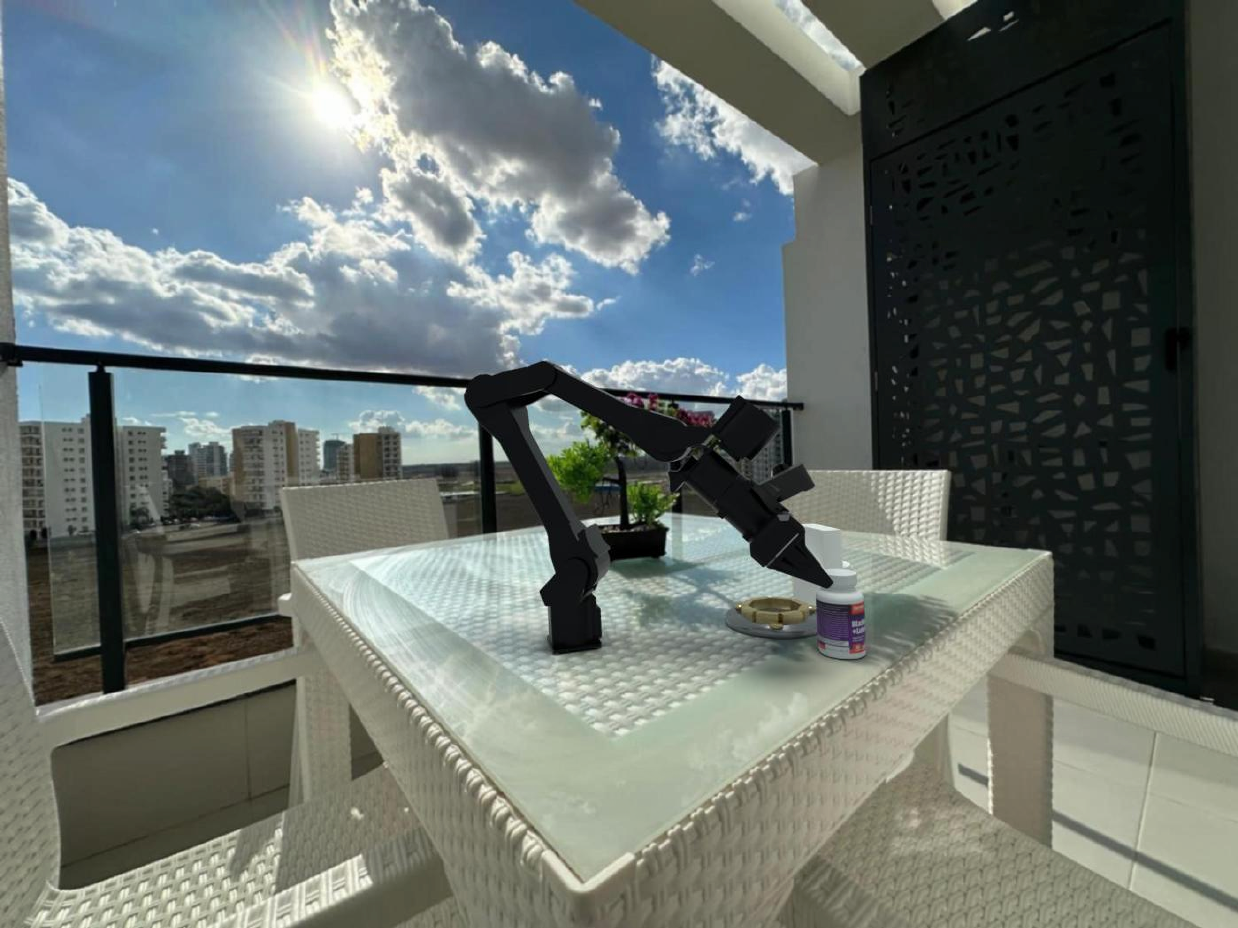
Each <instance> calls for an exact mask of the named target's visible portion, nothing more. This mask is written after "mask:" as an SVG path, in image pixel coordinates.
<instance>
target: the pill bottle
mask: <svg viewBox="0 0 1238 928" xmlns="http://www.w3.org/2000/svg"><path fill="white" fill-rule="evenodd" d="M825 571H826V573H827V574H828V575H829V576H830V578H831V579H832V580H833V582H834V583H833V585H832V586H831V587H830V588H828V589H826V588H823V587H821V588H819V589H818V590H817V592H816V613H817V635H816V636H817V646H818V650H819V652H820V653H821V654H822V655H825V656H826V657H830V658H833V659H834V658H835V659H838V660H839V659H841V660H856V659H860V658H863V657H865V656H866V654H867V638H866V637H867V635H866V616H865V615H866V614H865V597H864V594H863V592H862V591H861V590H859V589H858V588H856V586H857V585H858V579H857V578H858V576H857V572H856V571H854V570H846V569H826V570H825Z"/></svg>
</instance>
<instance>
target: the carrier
mask: <svg viewBox="0 0 1238 928" xmlns="http://www.w3.org/2000/svg"><path fill="white" fill-rule="evenodd" d="M725 622H726V625H727V626H728V628H730V629H731V630H733V631H734V632H738V633H739V634H743V635H747V636H751V637H755V638H756V637H758V638H763V639H764V638H765V639H774V640H775V639H777V640H780V639H781V640H789V639H794V640H795V639H801V638H802V639H803V638H808V637H812V636H818V635H817V613H816V606H814V605H808V604H807V603H805V602H803V601H800V600H798V599H793V597H785V596H775V595H774V596H773V595H771V596H770V597H769V596H768V595H766V596H759V597H751V598H749V599H746V600H744V601H743V603H741V602H740V603H739V602H737V603H734V607H731V608H729V609H728V610H727V611H726V612H725Z"/></svg>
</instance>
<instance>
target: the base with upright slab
mask: <svg viewBox="0 0 1238 928" xmlns="http://www.w3.org/2000/svg"><path fill="white" fill-rule="evenodd" d="M801 524H802V525H803V527H804V528H805V545H806V547H807V548H808V549H809V550H810V552H811V553H812V554H813V555H814V557H815V558H816V559H817V560H818V562H819V563H820V564H821V566H822V568H823V569H824V570H826V569H846V570H851V563H850V562H848V561H845V560H843V545H842V529H839V528H835V527H831V526H827V525H822V524H819V523H801ZM791 578H792V594H793V595H792V596H793V597H792V599H798V600H800V601H803V602H805V603H807V604H808V605H814V606H816V592H817V590H818V589H819V588H821V587H820V586H818V585H815V584H812V583H810V582H807V581H804V580H802V579H799V578H796V577H793V576H791Z"/></svg>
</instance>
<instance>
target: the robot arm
mask: <svg viewBox="0 0 1238 928" xmlns="http://www.w3.org/2000/svg"><path fill="white" fill-rule="evenodd" d="M465 387H466V388H465V392H464V393H463V400H464V403H465V406H466V408H467V410H469V412H470V413H471V415H473V417H474V418H475V419H476V421H477V422H478V423H479V424H480V426H481V427H482V428H484V430H485V431H486V432H487V433H489V434H490V435H491V436H492V437H493V438H494V439H495V440H496V441H497V442H498V443H499V445H500V447H501V449H502V451H503V452H504V454H505V456H506V458H507V460H508V462H509V463H510V465H511V467H512V470H513V472H514V473H515V475H516V477H517V478H518V481H519V483H520V484H521V486H522V488H523V490H524V492H525V495H526V496H527V498H528V499H529V501H530V504H531V505H532V507H533V509H534V511H535V513H536V515H537V517H538V519H539V521H540V523H541V524H542V526H543V528H544V530H545V532H546V535H547V542H548V551H549V558H550V561H551V563H552V567H553V570H554V574H553V575H552V576H551V578H550V579H549V580H548V581H547V582H546V583H544V585H543V586H542V587H541V588H540V590H539V595H540V598H541V601H542V603H543V605H544V606H545V607H547V620H548V623H547V624H548V634H547V635H546V638H547V639H546V640H547V642H548V644H549V647H550V650H551V652H552V653H553V654H554V655H555V654H563V653H569V652H576V651H582V650H589V649H595V648H596V649H597V648H601V647H602V646H603V645H602V641H601V639H602V638H603V625H602V608H601V607H600V606H599V605H598V603H597V597H596V595H594V594H593V592H595V591H596V590H597V588H598V584H599V582H600V581H601V580H602V579H603V578H604V577H606V575H607V573H608V571H609V569H610V565H611V556H610V554H609V552H608V551H609V550H611V546H610V545H609V544H608V543H607V542H606V541H605V540H604V538H603V535H602V534H601V530H600V528H599V526H598V524H597V523H593V524H591V525H589V526H587V525H585V524H584V522H582V521H581V520H580V519H579V518H578V517H577V515H576V513H575V512H574V510H573V508H572V506H571V504H570V502H569V500H568V499H567V497H566V495H565V493H564V491H563V488H562V487H561V486H560V483H559V482H558V480H557V478H556V477H555V474H554V472H553V470H552V469H551V467H550V465H549V463H548V461H547V459H546V457H545V456H544V454H543V452H542V450H541V448H540V446H539V445H538V443H537V441H536V438H535V436H534V435H533V433H532V432H531V428H530V420H529V410H528V408H527V407H528V406H530V405H532V404H535V403H537V402H539V401H540V400H543V399H544V398H546V397H548V396H551V395H553V396H555V397H556V398H558V399H561V401H563V402H565V403H567V404H570V405H572V406H573V407H575V408H577V409H579V410H581V411H582V412H585V413H586V414H589V415H590V416H592V417H594V418H596V419H598V420H600V421H602V422H604V423H605V424H607V425H609V426H612V427H614V428H615V429H617V430H618V431H619V432H621V433H622V434H623V435H624V436H625V437H627V438H628V439H629V440H630V441H631V442H632V443H633V444H634V445H636V446H637V447H638V448H639V449H641V450H642V451H643V452H644V453H646V454H647V455H649V456H650V457H651V458H653V459H654V460H655V461H658V462H661V463H672V462H676V461H680V460H682V459H684V458H685V457H686V456H687V455H688V454H689V453H690V451H691V450H692V449H696V448H700V447H704V446H706V445H708V444H709V443H710V441H711V440H712V439H713V438H716V439H715V440H714V441H713V442H712V444H711V445H710V446H709V447H708V448H707V449H706V450H705V451H704V452H703V453H702V455H700V456H699V457H697V456H695V455H694V454H691V455H690V456H689V457H688V458H687V460H686V461H685V462H684V463H683V464H682V465H681V466H680V467H679V469H677V470H669V471H668V472H667V475H668V478H669V491H670V492H671V493H675V492H677V491H678V490H680V488H681V487H682V486H684V484H685V485H686V486H687V487H688V488H689V489H690V490H692V491H693V492H694V494H696V495H697V496H698V497H699V498H701V500H703V501H704V502H705V503H706V504H708V506H710V507H711V508H712V509H713V510H714V511H715V512H716V513H715V515H717V516H718V518H720V519H721V520H725V521H726V522H727V523H728V524H729V525H731V526H732V527H733V528H734V529H735V530H737V532H739V534H741V537H742V538H743V540H744V541H746V542H747V543H749V544H748V546H749V556H750V557H751V558H752V559H753V560H754V561H755V562H756V564H757V563H758V564H759V566H761V567H762V568H765V567H766V568H767V569H768V570H773V571H776V572H778V573H782V574H785V575H787V576H791V577H792V576H793V577H796V578H799V579H802V580H804V581H807V582H810V583H812V584H815V585H818V586H820V587H823V588H826V589H828V588H830V587H831V586H832V585H833V583H834V582H833V580H832V579H831V578H830V576H829V575H828V574H827V573H826V571H825V570H824V569H823V568H822V566H821V564H820V563H819V562H818V560H817V559H816V558H815V557H814V555H813V554H812V553H811V552H810V550H809V549H808V548H807V547H806V545H805V528H804V527H803V525H802V524H803V523H801V522H800V521H799V520H798V519H797V518H795V517H794V515H793V514H792V513H791V512H790V510H789V509H788V508H787V507H786V506H785V505H784V504H782V502H784V501H786V500H789V499H790V498H793V497H795V496H796V495H798V494H800V493H802V492H805V493H806V492H808V491H810V490H812V489H814V488H815V487H816V484H815V483H814V481H813V479H812V477H811V475H810V473H809V472H808V470H807V468H806V467H805V465H804V463H803V462H798V463H794V464H792V465H791V466H790V465H788V464H786V463H785V462H779V463H778V464H775V465H773V466H772V467H771V476H770V477H767V479H765V480H763V481H760V482H759V483H758V482H757V481H755V480H754V479H753V478H752V477H750V478H748V477H746V476H745V475H744V474H743V473H742V472H741V471H740V470H739V469H737V468H736V467H735V466H734V465H733V464H732V463H730V461H728V460H727V459H726V458H725V457H724V456H722V455H721V454H720V453H719V452H718V451H717V450H715V449H716V448H717V447H719V448H720V449H721V450H722V451H723V452H725V453H726V454H727V455H728V456H730V457H731V459H733V460H734V461H735V462H737V464H740V463H741V462H742V461H744V459H747V460H748V461H749V462H750V463H753V461H754V459H756V458H757V457H758V456H759V454H760V453H761V452H763V450H764V449H765V448H766V446H768V445H769V444H770V443H771V441H772V440H773V439H774V438H775V437H776V436H777V435H778V433H780V431H781V430H782V429H783V428H782V426H781V425H780V424H779V423H778V422H777V421H776V420H775V419H774V418H773V417H772V416H770V415H769V414H768V413H767V411H765V410H764V409H762V408H758V407H757V406H755V405H754V404H753V403H751V402H750V401H749V400H747V399H745V398H744V397H743V396H742V395H740V394H738V395H736V397H734V399H733V400H732V401H731V403H730V404H729V407H727V409H726V410H725V411H724V412H723V413H722V415H721V416H720V417H719V418H718V419H717V420H716V421H715V422H714V424H713V425H712V426H711V427H708V426H705V425H703V424H702V425H701V426H693V425H691V426H690V425H687V424H686V422H684V421H682V420H680V419H679V418H677V417H673V416H671V415H668V414H664V413H661V412H658V411H655V410H651V409H647V408H644V407H640V406H637V405H634V404H632V403H631V404H630V403H628V402H626V401H625V400H622V399H620V398H619V397H617V396H615V395H613V394H611V393H608V392H607V391H605V390H603V389H601V388H599V387H597V386H595V385H594V384H591V383H590V382H587V381H586V380H584V379H581V378H580V377H578V376H576V375H574V374H572V373H571V372H568V371H566V370H565V369H564V368H563V367H562V366H560V365H559V364H556V363H554V362H553V361H549V360H539V361H538V362H535V363H533V364H532V363H531V364H530V365H527V366H522V367H517V368H514V369H509V370H504V371H500V372H497V373H495V374H492V375H491V374H488V373H480V374H478V375H475V376H474V377H472V378H471V380H470V381H469V382H468V384H467V385H466V386H465Z"/></svg>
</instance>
